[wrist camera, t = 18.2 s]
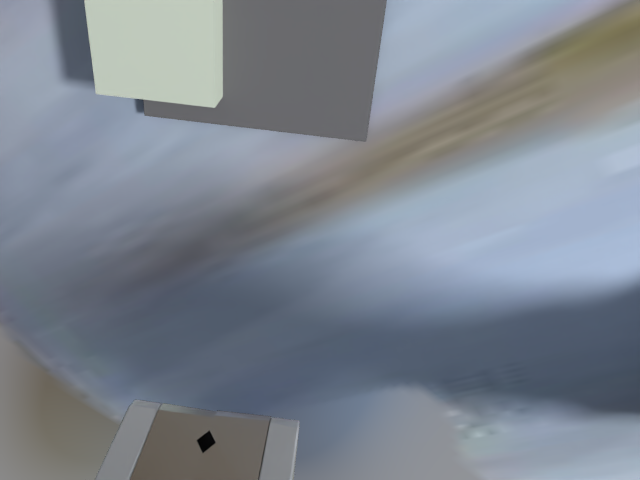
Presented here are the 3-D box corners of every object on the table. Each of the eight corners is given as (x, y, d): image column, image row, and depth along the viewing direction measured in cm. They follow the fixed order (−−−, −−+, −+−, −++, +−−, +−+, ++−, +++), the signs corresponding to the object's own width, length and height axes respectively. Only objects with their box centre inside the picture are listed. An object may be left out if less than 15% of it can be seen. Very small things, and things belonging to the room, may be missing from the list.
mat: (391, -36, 30) (391, -35, 30) (366, 138, 36) (366, 141, 35) (134, -65, 31) (130, -64, 30) (147, 112, 36) (144, 115, 35)
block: (213, -3, 29) (81, -18, 30) (214, 107, 33) (96, 94, 33) (222, -9, 31) (97, -24, 31) (222, 96, 34) (109, 83, 35)
